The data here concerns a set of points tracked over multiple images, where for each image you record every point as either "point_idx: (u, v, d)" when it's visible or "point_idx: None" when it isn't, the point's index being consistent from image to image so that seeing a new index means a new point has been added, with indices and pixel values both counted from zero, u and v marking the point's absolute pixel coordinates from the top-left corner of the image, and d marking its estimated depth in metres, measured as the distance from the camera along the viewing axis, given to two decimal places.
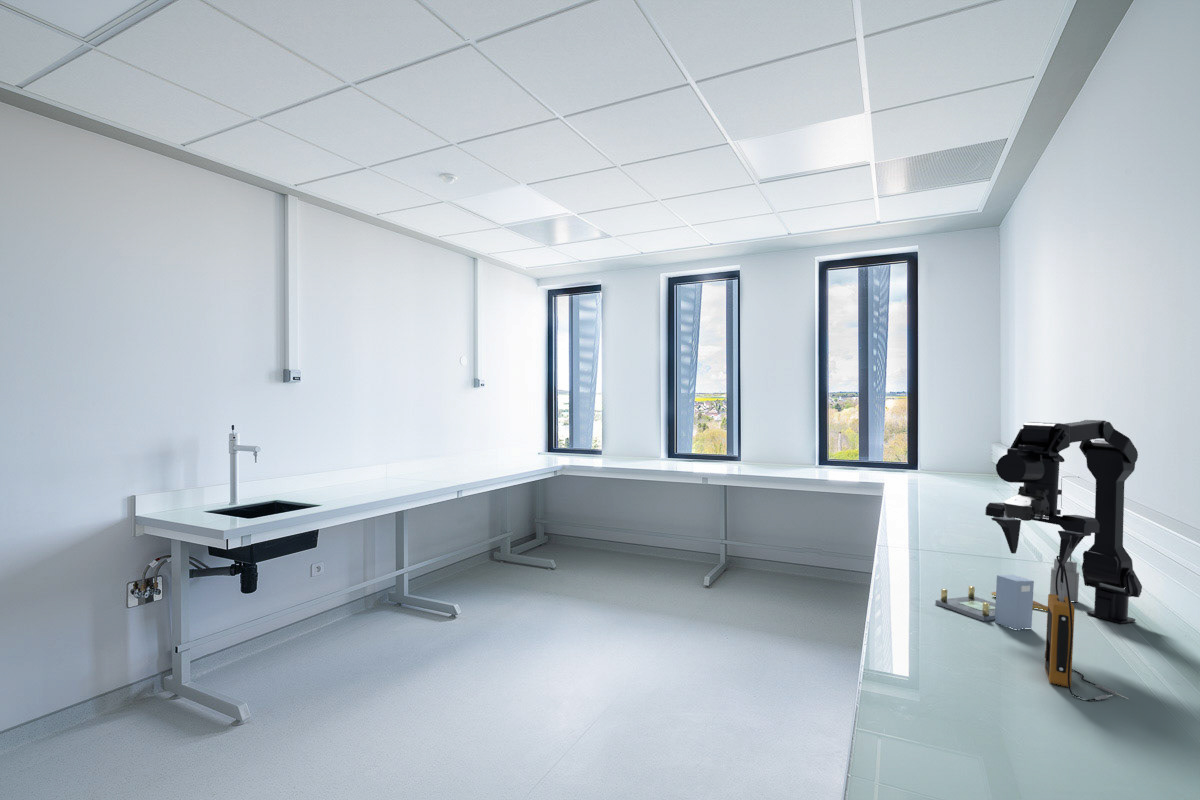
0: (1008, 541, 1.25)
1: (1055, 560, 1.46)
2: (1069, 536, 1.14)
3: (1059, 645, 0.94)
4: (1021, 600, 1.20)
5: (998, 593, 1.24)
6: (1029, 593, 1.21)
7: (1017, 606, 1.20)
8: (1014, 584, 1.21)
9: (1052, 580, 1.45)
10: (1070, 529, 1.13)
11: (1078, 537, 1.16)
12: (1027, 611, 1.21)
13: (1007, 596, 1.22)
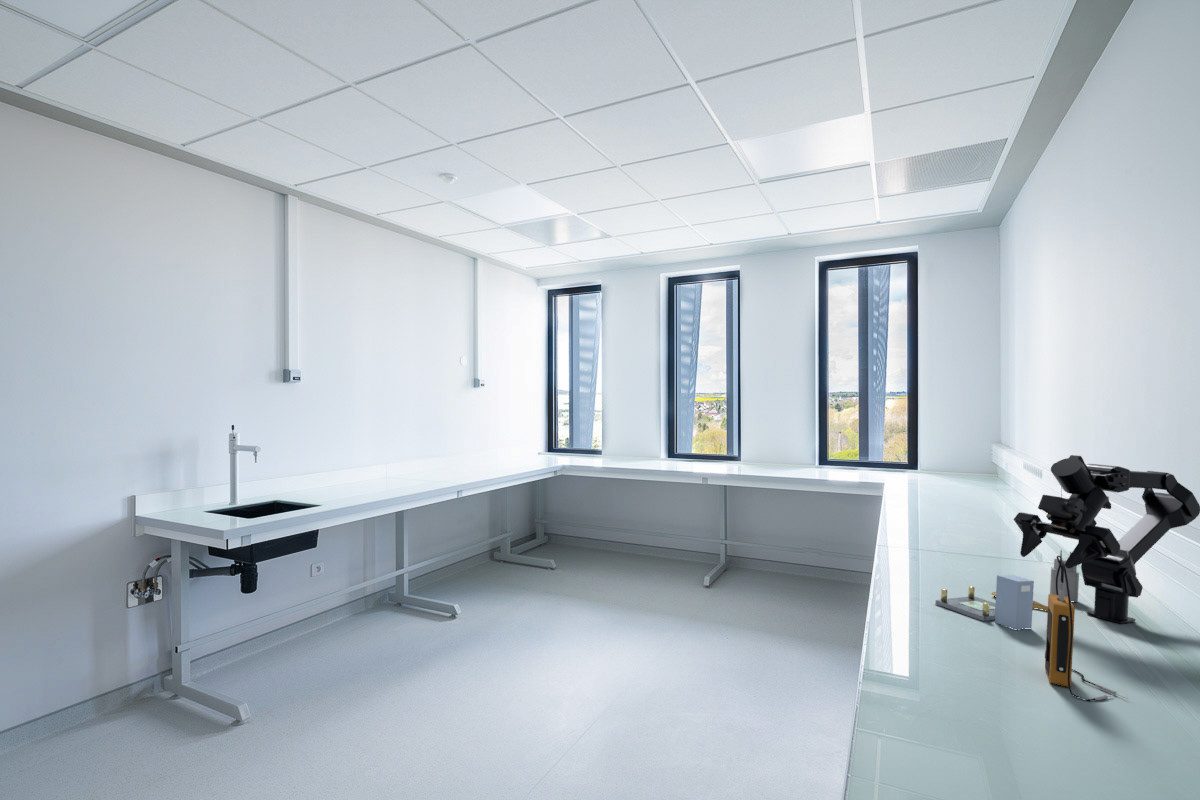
0: (1023, 543, 1.31)
1: (1055, 560, 1.46)
2: (1088, 539, 1.20)
3: (1059, 645, 0.94)
4: (1021, 600, 1.20)
5: (998, 593, 1.24)
6: (1029, 593, 1.21)
7: (1017, 606, 1.20)
8: (1014, 584, 1.21)
9: (1052, 580, 1.45)
10: (1093, 532, 1.19)
11: (1094, 553, 1.21)
12: (1027, 611, 1.21)
13: (1007, 596, 1.22)
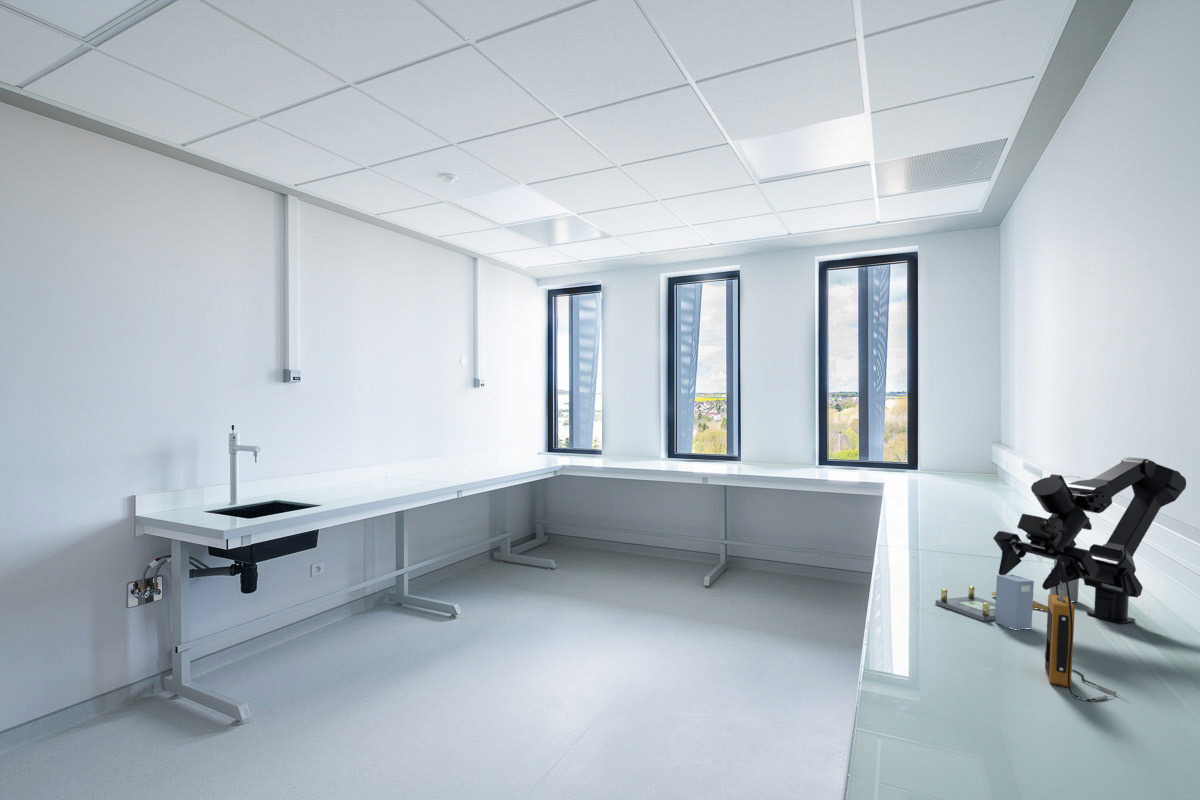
0: (1001, 563, 1.28)
1: (1055, 560, 1.46)
2: (1066, 561, 1.18)
3: (1059, 645, 0.94)
4: (1021, 600, 1.20)
5: (998, 593, 1.24)
6: (1029, 593, 1.21)
7: (1017, 606, 1.20)
8: (1014, 584, 1.21)
9: None
10: (1071, 553, 1.17)
11: (1072, 575, 1.19)
12: (1027, 611, 1.21)
13: (1007, 596, 1.22)
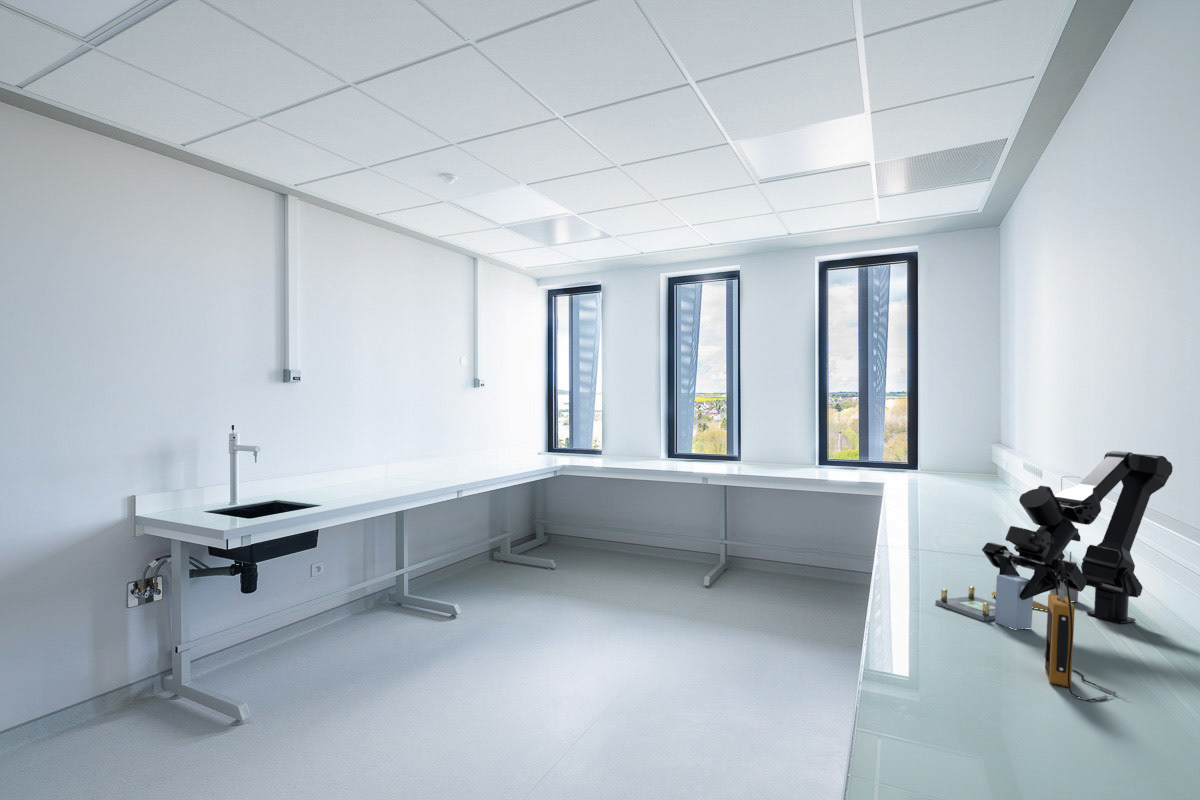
0: None
1: None
2: (1043, 571, 1.19)
3: (1059, 645, 0.94)
4: (1021, 600, 1.20)
5: (998, 593, 1.24)
6: None
7: (1017, 606, 1.20)
8: (1014, 584, 1.20)
9: None
10: None
11: (1049, 585, 1.20)
12: (1027, 611, 1.21)
13: (1007, 596, 1.22)
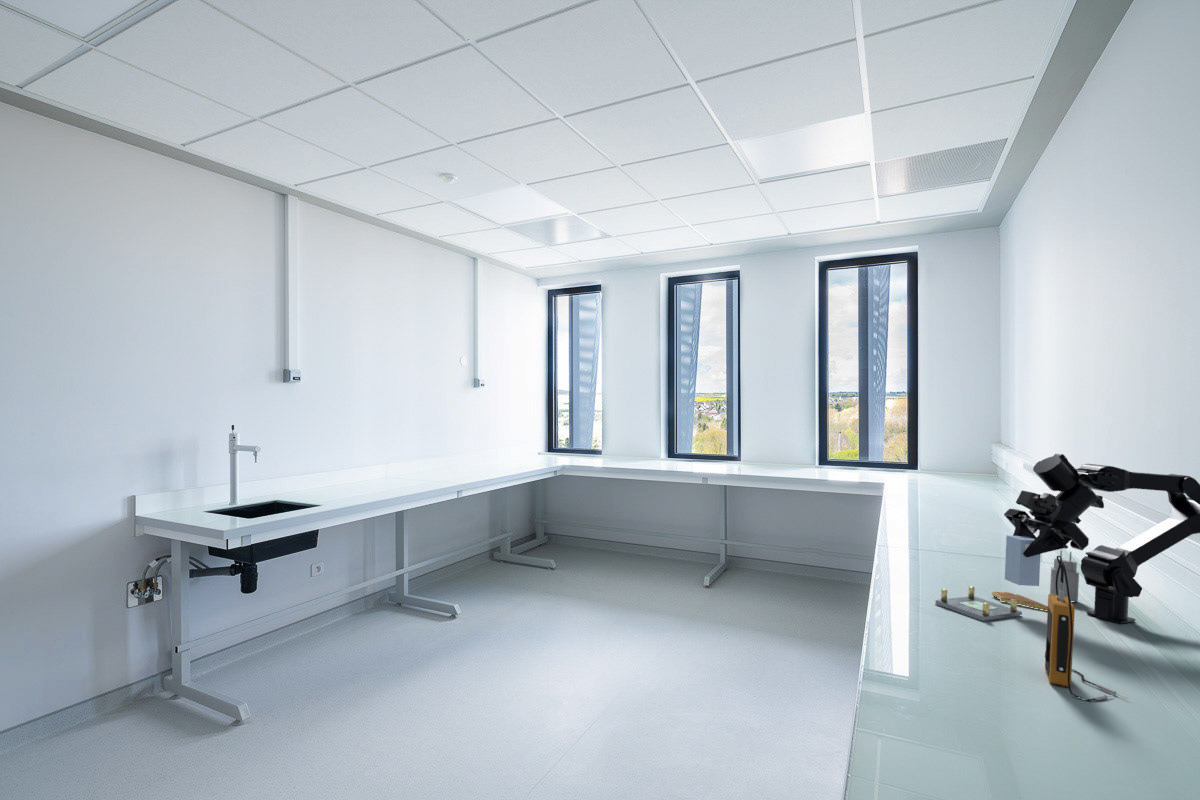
0: None
1: (1055, 560, 1.46)
2: (1046, 531, 1.27)
3: (1059, 645, 0.94)
4: (1025, 557, 1.30)
5: (1007, 552, 1.34)
6: None
7: (1020, 563, 1.30)
8: (1018, 542, 1.30)
9: (1052, 580, 1.45)
10: (1058, 526, 1.25)
11: (1055, 545, 1.28)
12: (1034, 569, 1.30)
13: (1013, 554, 1.32)
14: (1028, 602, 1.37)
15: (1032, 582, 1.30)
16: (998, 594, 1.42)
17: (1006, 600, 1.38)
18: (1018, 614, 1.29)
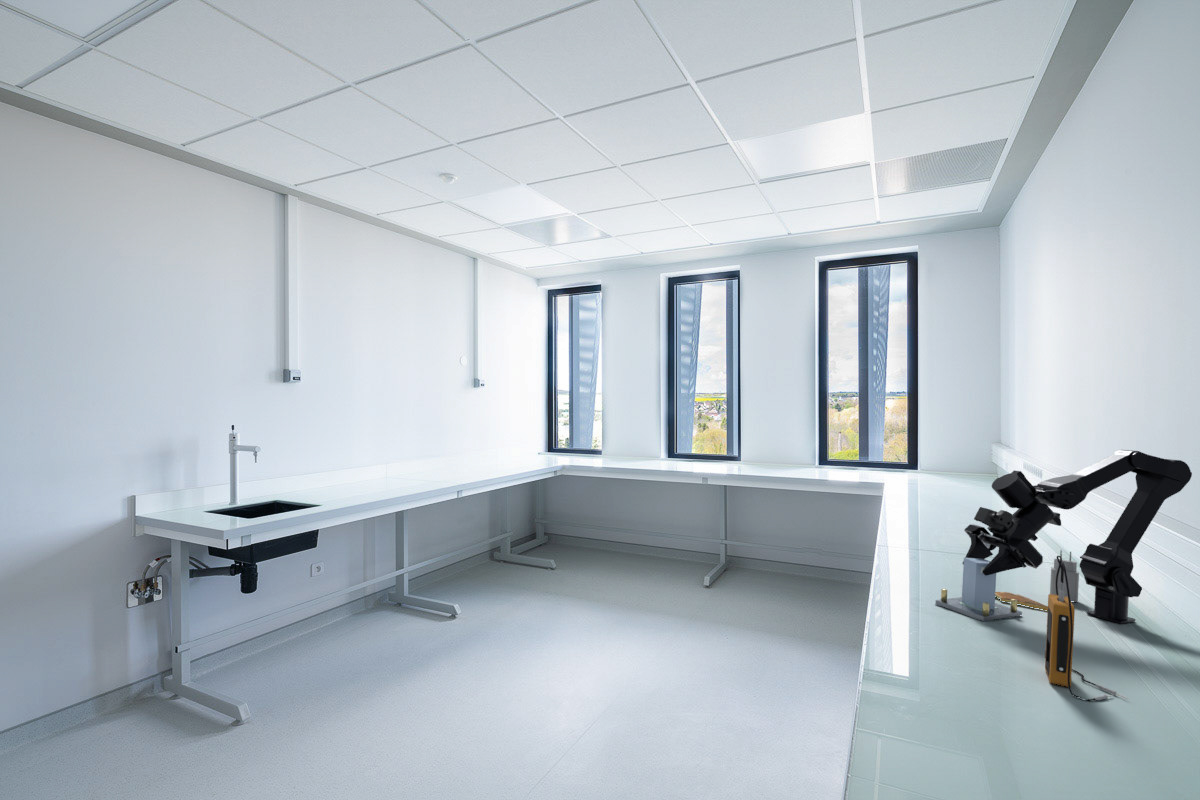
0: (967, 554, 1.36)
1: (1055, 560, 1.46)
2: (1004, 549, 1.26)
3: (1059, 645, 0.94)
4: (981, 580, 1.30)
5: (964, 574, 1.34)
6: (991, 575, 1.30)
7: (975, 586, 1.30)
8: (974, 565, 1.30)
9: (1052, 580, 1.45)
10: (1012, 544, 1.25)
11: (1014, 563, 1.27)
12: (989, 592, 1.30)
13: (969, 577, 1.32)
14: (1028, 602, 1.37)
15: None
16: (998, 594, 1.41)
17: (1006, 600, 1.38)
18: (1018, 614, 1.29)
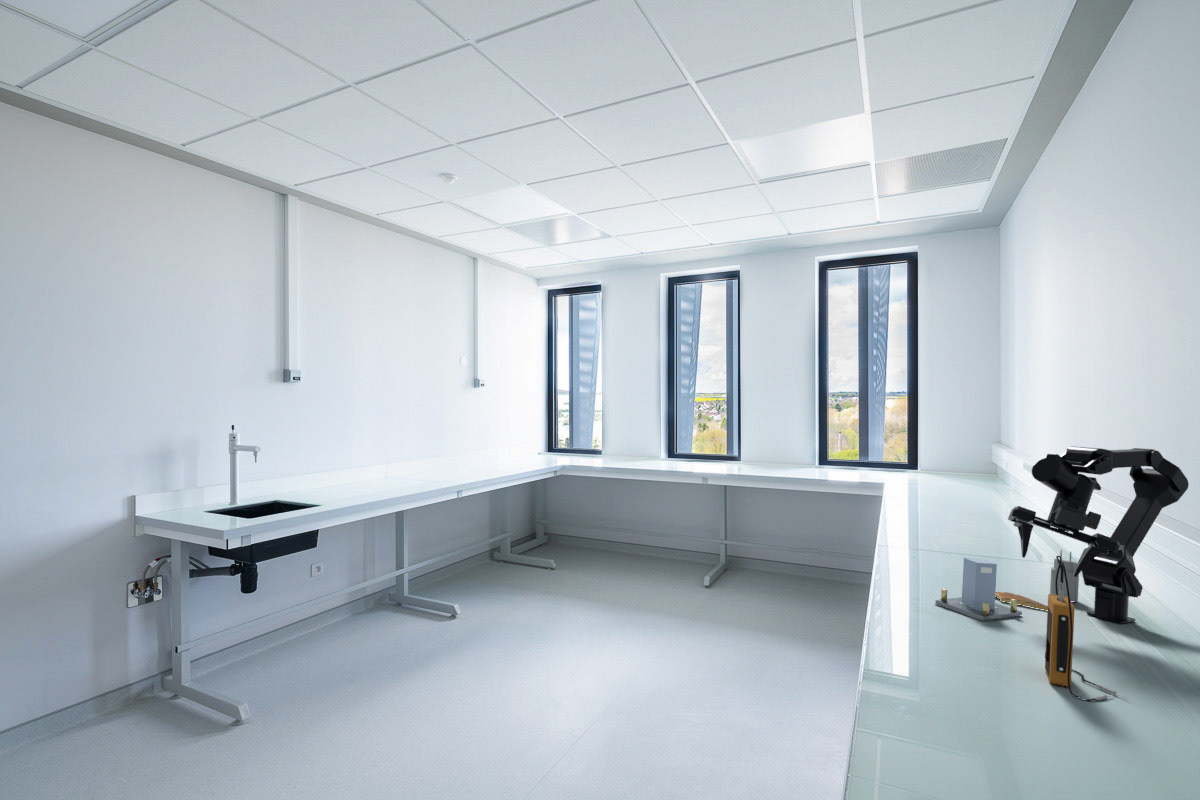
0: (1025, 545, 1.28)
1: (1055, 560, 1.46)
2: (1100, 553, 1.22)
3: (1059, 645, 0.94)
4: (981, 580, 1.30)
5: (964, 574, 1.34)
6: (991, 575, 1.30)
7: (975, 586, 1.30)
8: (974, 565, 1.30)
9: (1052, 580, 1.45)
10: (1106, 547, 1.21)
11: None
12: (989, 592, 1.30)
13: (969, 577, 1.32)
14: (1028, 602, 1.37)
15: None
16: (998, 594, 1.42)
17: (1006, 600, 1.38)
18: (1018, 614, 1.29)
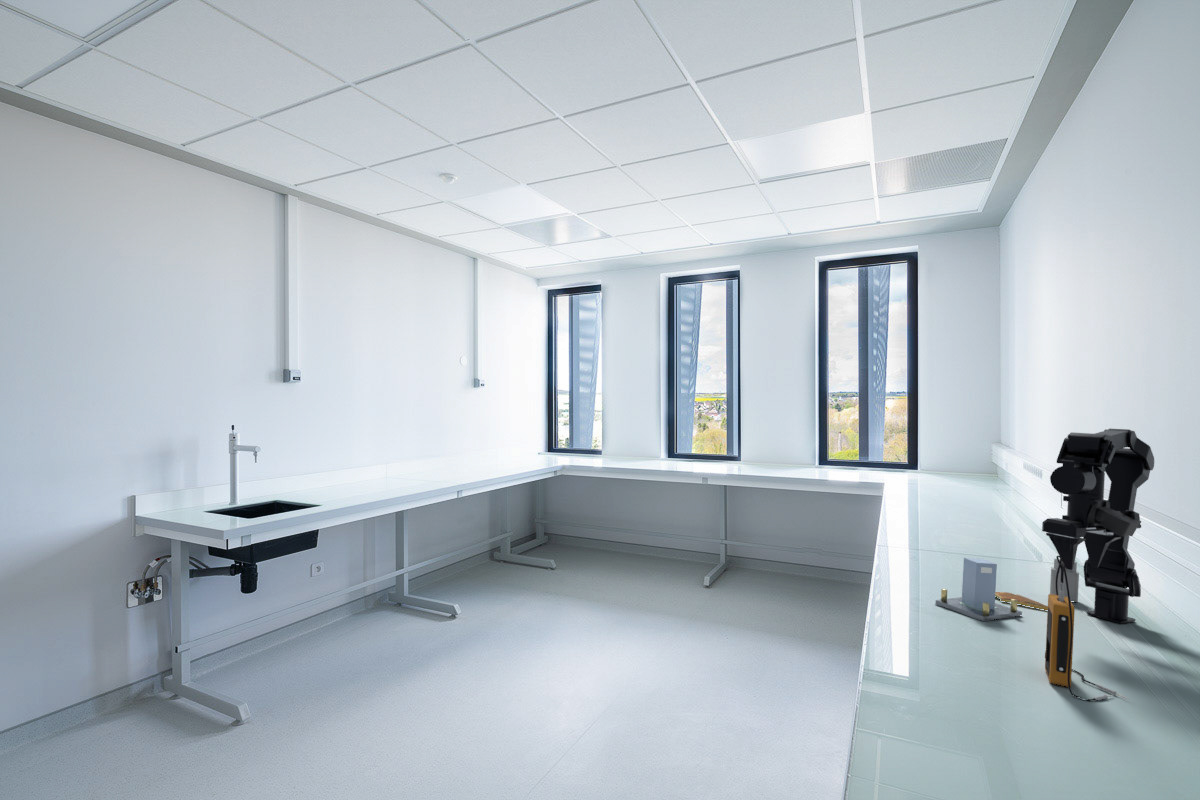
0: (1073, 558, 1.19)
1: (1055, 560, 1.46)
2: (1115, 539, 1.23)
3: (1059, 645, 0.94)
4: (981, 580, 1.30)
5: (964, 574, 1.34)
6: (991, 575, 1.30)
7: (975, 586, 1.30)
8: (974, 565, 1.30)
9: (1052, 580, 1.45)
10: None
11: None
12: (989, 592, 1.30)
13: (969, 577, 1.32)
14: (1028, 602, 1.37)
15: None
16: (998, 594, 1.42)
17: (1006, 600, 1.38)
18: (1018, 614, 1.29)
